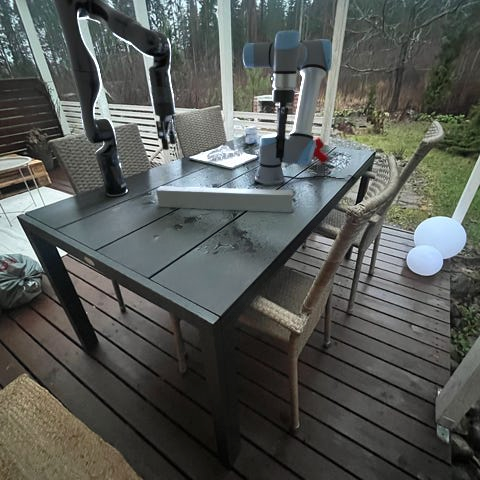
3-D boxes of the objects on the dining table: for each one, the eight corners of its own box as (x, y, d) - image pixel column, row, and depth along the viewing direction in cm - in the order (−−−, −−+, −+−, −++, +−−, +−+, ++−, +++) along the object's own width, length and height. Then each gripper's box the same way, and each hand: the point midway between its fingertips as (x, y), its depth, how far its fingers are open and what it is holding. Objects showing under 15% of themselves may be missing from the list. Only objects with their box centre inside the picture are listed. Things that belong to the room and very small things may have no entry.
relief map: (231, 168, 161) (231, 160, 158) (189, 159, 179) (189, 151, 176) (257, 158, 179) (257, 150, 176) (217, 150, 197) (216, 142, 194)
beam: (290, 207, 117) (292, 190, 113) (291, 212, 113) (293, 195, 109) (163, 202, 123) (160, 185, 118) (159, 206, 118) (155, 190, 114)
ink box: (252, 141, 220) (252, 125, 213) (257, 142, 217) (257, 126, 210) (245, 142, 215) (245, 127, 208) (249, 144, 212) (249, 127, 205)
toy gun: (331, 157, 168) (319, 136, 164) (331, 159, 164) (318, 137, 160) (306, 172, 178) (294, 153, 174) (305, 174, 174) (292, 154, 170)
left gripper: (160, 98, 104) (166, 142, 112) (145, 102, 92) (153, 151, 100) (179, 98, 103) (184, 142, 112) (166, 102, 91) (173, 151, 100)
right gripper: (273, 86, 102) (270, 144, 113) (272, 91, 81) (268, 162, 93) (293, 86, 101) (288, 144, 113) (297, 91, 80) (290, 162, 92)
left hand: (169, 146), depth 106 cm, fingers open, 8 cm apart
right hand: (279, 152), depth 103 cm, fingers open, 13 cm apart
